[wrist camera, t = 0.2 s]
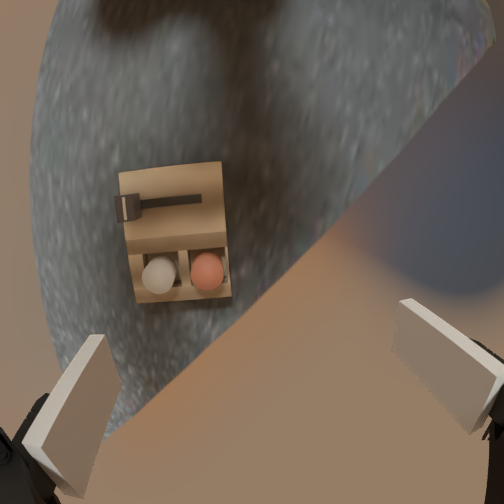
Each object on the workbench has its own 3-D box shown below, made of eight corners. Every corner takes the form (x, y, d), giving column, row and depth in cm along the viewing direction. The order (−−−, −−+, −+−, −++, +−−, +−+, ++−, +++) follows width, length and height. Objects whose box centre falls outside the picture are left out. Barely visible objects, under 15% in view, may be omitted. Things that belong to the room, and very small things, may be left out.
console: (128, 173, 35) (118, 172, 31) (220, 163, 36) (221, 161, 32) (143, 291, 39) (136, 304, 35) (230, 285, 40) (231, 296, 36)
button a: (190, 252, 34) (188, 260, 31) (221, 250, 35) (222, 257, 32) (194, 281, 35) (192, 291, 32) (224, 279, 36) (225, 288, 33)
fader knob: (123, 194, 31) (114, 196, 28) (139, 192, 31) (131, 194, 28) (125, 218, 32) (117, 223, 29) (141, 217, 32) (134, 220, 29)
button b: (145, 256, 34) (139, 264, 31) (175, 254, 34) (171, 261, 31) (150, 285, 35) (144, 295, 32) (178, 283, 35) (175, 292, 32)
